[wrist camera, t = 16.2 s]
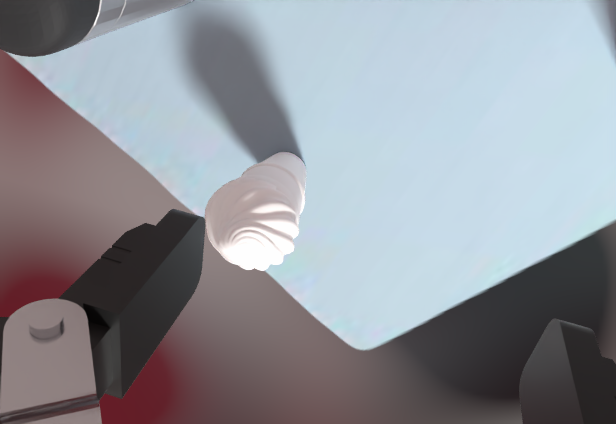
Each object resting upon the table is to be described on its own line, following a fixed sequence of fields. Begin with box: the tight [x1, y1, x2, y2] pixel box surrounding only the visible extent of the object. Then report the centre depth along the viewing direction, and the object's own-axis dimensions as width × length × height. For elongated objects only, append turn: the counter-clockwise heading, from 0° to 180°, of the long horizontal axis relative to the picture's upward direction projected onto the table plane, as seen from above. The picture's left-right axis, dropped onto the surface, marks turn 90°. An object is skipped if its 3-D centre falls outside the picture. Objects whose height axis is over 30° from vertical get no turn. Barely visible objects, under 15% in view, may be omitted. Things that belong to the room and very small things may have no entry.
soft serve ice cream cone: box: [205, 152, 307, 271], centre depth 48 cm, size 8×8×16 cm
